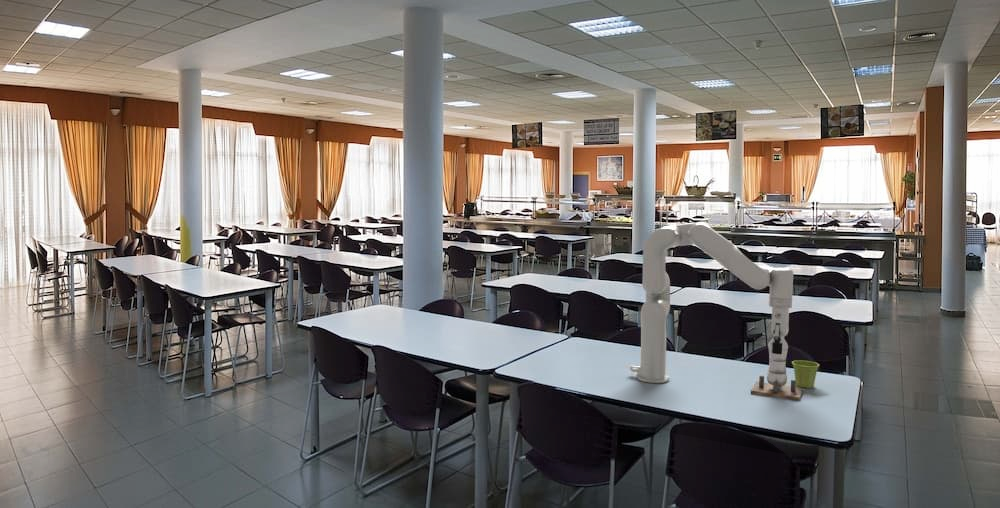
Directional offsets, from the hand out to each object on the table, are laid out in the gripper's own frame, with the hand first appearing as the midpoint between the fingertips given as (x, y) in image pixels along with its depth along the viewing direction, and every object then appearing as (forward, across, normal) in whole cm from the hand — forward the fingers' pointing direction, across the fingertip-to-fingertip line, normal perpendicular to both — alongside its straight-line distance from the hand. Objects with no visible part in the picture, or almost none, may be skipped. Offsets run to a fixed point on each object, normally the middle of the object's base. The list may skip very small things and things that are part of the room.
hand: (778, 351), depth 229 cm
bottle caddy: (+15, 0, 0) cm, 15 cm away
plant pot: (+15, +14, -8) cm, 22 cm away
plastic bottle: (+13, 0, 0) cm, 13 cm away
